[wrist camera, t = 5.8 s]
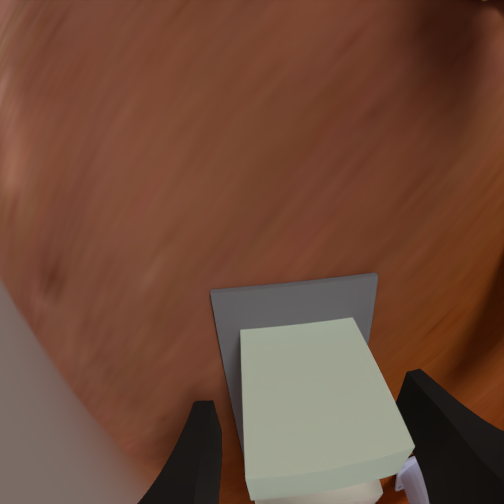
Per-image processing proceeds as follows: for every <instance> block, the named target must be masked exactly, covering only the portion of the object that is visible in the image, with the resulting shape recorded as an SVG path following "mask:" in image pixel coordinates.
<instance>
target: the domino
mask: <svg viewBox="0 0 504 504" xmlns="http://www.w3.org/2000/svg"><path fill="white" fill-rule="evenodd" d="M382 494H383V490H382V487H381V484H380V481H379V479H378V480H374V481H370V482H367V483H363V484H359V485H354V486H350V487H346V488H341V489H336V490H331V491H326V492H320V493H314V494H308V495H301V496H294V497H286V498H276V499H265V500H255V504H375V503H376V502H377V501H378V499H379V498H380V497H381V495H382Z"/></svg>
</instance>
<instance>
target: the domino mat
mask: <svg viewBox="0 0 504 504" xmlns="http://www.w3.org/2000/svg"><path fill="white" fill-rule="evenodd" d="M377 281H378V275H377V274H376V273H369V274H360V275H352V276H344V277H335V278H326V279H317V280H308V281H299V282H289V283H279V284H269V285H258V286H248V287H237V288H225V289H213V290H211V293H210V294H211V300H212V306H213V311H214V317H215V322H216V328H217V333H218V339H219V344H220V349H221V354H222V360H223V365H224V370H225V375H226V380H227V384H228V389H229V394H230V399H231V403H232V408H233V413H234V417H235V422H236V426H237V431H238V435H239V439H240V444H241V448H242V452H243V456H244V431H243V403H242V372H241V337H240V330H244V329H256V328H267V327H278V326H288V325H297V324H306V323H314V322H322V321H330V320H338V319H345V318H352V317H353V319H354V321H355V323H356V324H357V326H358V328H359V330H360V332H361V334H362V336H363V338H364V340H365V342H366V344H367V346H368V341H369V336H370V330H371V324H372V317H373V311H374V304H375V297H376V289H377ZM244 461H245V456H244Z"/></svg>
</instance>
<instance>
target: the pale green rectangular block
mask: <svg viewBox="0 0 504 504" xmlns="http://www.w3.org/2000/svg"><path fill="white" fill-rule="evenodd" d="M240 337H241V372H242V403H243V431H244V456H245V479H246V483H247V487H248V491H249V495H250V499H251V500H265V499H276V498H286V497H294V496H301V495H308V494H314V493H320V492H326V491H331V490H336V489H341V488H346V487H350V486H354V485H359V484H363V483H367V482H370V481H374V480H378V479H381V478H385V477H388V476H391V475H395V474H397V473H398V472H399V470H400V469H401V467H402V466H403V465H404V463H405V462H406V460H407V459H408V457H409V456H410V454H411V453H412V451H413V449H414V448H415V445H414V443H413V441H412V438H411V436H410V434H409V432H408V429H407V427H406V425H405V423H404V421H403V418H402V416H401V414H400V412H399V410H398V408H397V405H396V403H395V401H394V399H393V397H392V395H391V393H390V391H389V388H388V386H387V384H386V382H385V380H384V378H383V376H382V374H381V372H380V370H379V368H378V366H377V364H376V362H375V360H374V358H373V356H372V354H371V352H370V350H369V348H368V346H367V344H366V342H365V340H364V338H363V336H362V334H361V332H360V330H359V328H358V326H357V324H356V323H355V321H354V319H353V317H352V318H345V319H338V320H330V321H322V322H314V323H306V324H297V325H288V326H278V327H267V328H256V329H244V330H240Z"/></svg>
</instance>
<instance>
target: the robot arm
mask: <svg viewBox="0 0 504 504" xmlns="http://www.w3.org/2000/svg"><path fill="white" fill-rule="evenodd" d="M396 405H397V408H398V410H399V412H400V414H401V416H402V418H403V421H404V423H405V425H406V427H407V429H408V432H409V434H410V436H411V438H412V441H413V443H414V445H415V448H414V449H413V454H414V456H412V457H410V458H408V459H407V460H406V462H405V463H404V465H403V466H402V467H401V469H400V470H399V472H398V473H397V474H396V484H395V491H399V490H402V489H404V490H405V493H406V495H407V498H408V501H409V504H504V431H502V430H500V429H498V428H496V427H495V426H493V425H491V424H490V423H488V422H486V421H485V420H483V419H482V418H480V417H479V416H477V415H476V414H475V413H473V412H472V411H470V410H469V409H468V408H466V407H465V406H464V405H463V404H461V403H460V402H459V401H458V400H456V399H455V398H454V397H453V396H451V395H450V394H449V393H448V392H447V391H446V390H444V389H443V388H442V387H441V386H440V385H439V384H437V383H436V382H435V381H434V380H433V379H432V378H431V377H429V376H428V375H427V374H426V373H425V372H424V371H422V370H421V369H416V370H413V371H409V372H407V373H406V376H405V379H404V382H403V384H402V387H401V390H400V393H399V395H398V398H397V401H396ZM221 466H222V431H221V427H220V424H219V420H218V417H217V413H216V410H215V406H214V403H213V400H212V401H195V402H194V403H193V406H192V409H191V412H190V414H189V417H188V420H187V422H186V424H185V427H184V429H183V431H182V433H181V435H180V438H179V440H178V442H177V444H176V446H175V448H174V450H173V452H172V453H171V455H170V457H169V459H168V460H167V462H166V464H165V466H164V467H163V469H162V471H161V472H160V474H159V475H158V477H157V478H156V480H155V481H154V483H153V484H152V486H151V487H150V489H149V490H148V491H147V493H146V494H145V495H144V496H143V498H142V499H141V500H140V501H139V503H138V504H218V501H219V489H220V477H221Z"/></svg>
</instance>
